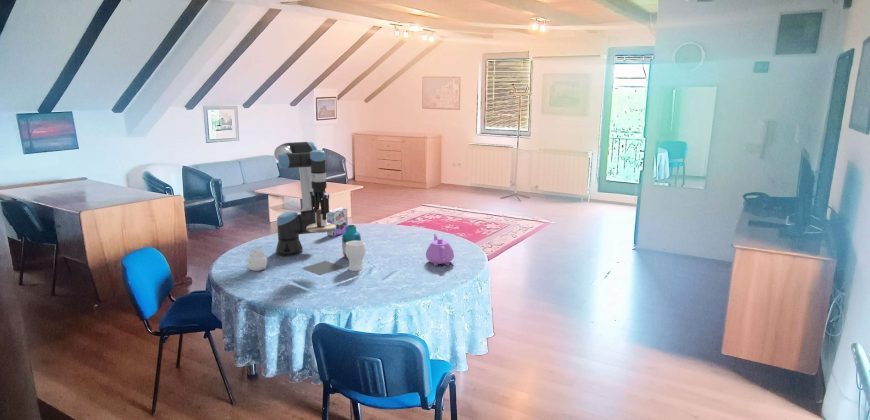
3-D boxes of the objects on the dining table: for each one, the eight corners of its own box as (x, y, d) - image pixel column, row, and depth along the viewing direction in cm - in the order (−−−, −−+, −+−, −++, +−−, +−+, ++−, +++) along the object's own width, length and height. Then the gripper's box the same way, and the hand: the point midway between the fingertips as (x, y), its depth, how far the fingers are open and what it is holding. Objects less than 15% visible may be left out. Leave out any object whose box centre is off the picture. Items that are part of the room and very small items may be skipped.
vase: (357, 262, 296) (356, 229, 291) (339, 260, 298) (338, 227, 293) (364, 256, 306) (363, 224, 301) (346, 255, 308) (345, 223, 304)
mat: (301, 269, 284) (301, 268, 283) (325, 262, 295) (325, 260, 295) (320, 276, 274) (319, 275, 273) (344, 268, 285) (344, 267, 285)
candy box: (333, 236, 344) (332, 212, 340) (327, 235, 347) (325, 210, 343) (348, 232, 355) (347, 208, 351) (341, 230, 358) (340, 206, 354)
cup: (364, 273, 278) (363, 246, 275) (344, 273, 279) (343, 246, 275) (367, 266, 289) (366, 240, 285) (347, 266, 289) (346, 240, 285)
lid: (300, 229, 278) (299, 210, 276) (323, 223, 289) (323, 205, 287) (318, 234, 269) (317, 214, 267) (341, 228, 280) (340, 209, 278)
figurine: (272, 268, 286) (270, 246, 284) (260, 274, 277) (259, 252, 275) (256, 266, 290) (254, 244, 287) (244, 271, 281) (243, 250, 278)
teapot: (421, 257, 305) (421, 233, 302) (447, 255, 309) (448, 232, 305) (430, 269, 284) (430, 245, 281) (458, 267, 288) (458, 243, 285)
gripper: (302, 179, 276) (305, 223, 281) (323, 183, 265) (325, 229, 271) (314, 177, 281) (316, 220, 287) (335, 181, 271) (337, 226, 276)
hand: (321, 224), depth 279 cm, fingers closed on lid, 4 cm apart
